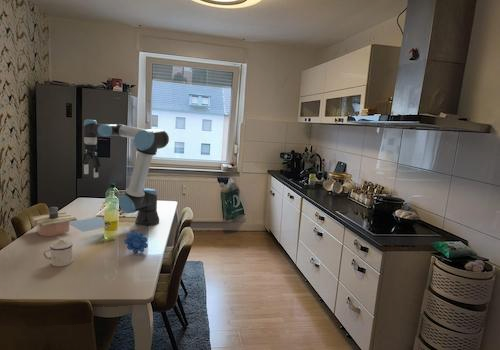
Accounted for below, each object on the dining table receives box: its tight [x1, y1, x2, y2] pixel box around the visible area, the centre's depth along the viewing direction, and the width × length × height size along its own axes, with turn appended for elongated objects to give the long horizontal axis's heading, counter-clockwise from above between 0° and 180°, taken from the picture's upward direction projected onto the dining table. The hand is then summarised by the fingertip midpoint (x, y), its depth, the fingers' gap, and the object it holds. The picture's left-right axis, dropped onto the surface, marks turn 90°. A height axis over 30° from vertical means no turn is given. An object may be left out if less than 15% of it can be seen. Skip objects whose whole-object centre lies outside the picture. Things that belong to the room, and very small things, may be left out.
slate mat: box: [70, 216, 105, 233], centre depth 210 cm, size 22×22×1 cm
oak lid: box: [30, 206, 78, 227], centre depth 193 cm, size 18×18×7 cm
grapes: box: [124, 230, 149, 254], centre depth 171 cm, size 12×7×12 cm, turn 105°
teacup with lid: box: [42, 238, 73, 268], centre depth 155 cm, size 12×9×12 cm
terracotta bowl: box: [36, 222, 71, 237], centre depth 194 cm, size 16×16×7 cm
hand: (91, 175), depth 219 cm, fingers open, 13 cm apart
